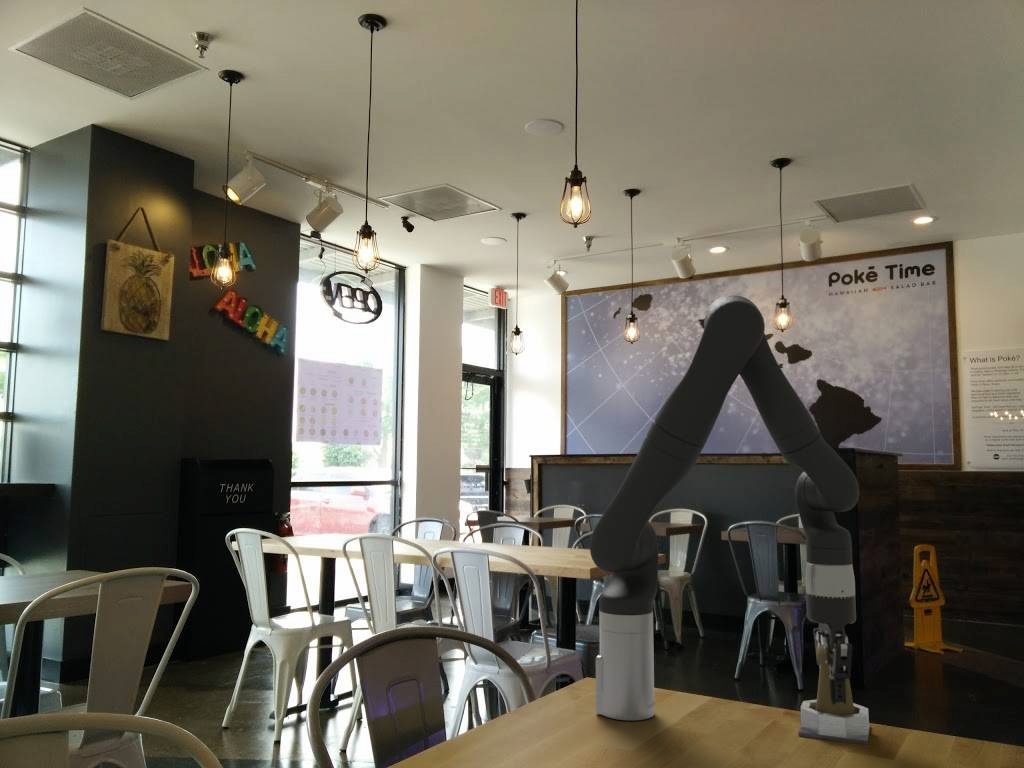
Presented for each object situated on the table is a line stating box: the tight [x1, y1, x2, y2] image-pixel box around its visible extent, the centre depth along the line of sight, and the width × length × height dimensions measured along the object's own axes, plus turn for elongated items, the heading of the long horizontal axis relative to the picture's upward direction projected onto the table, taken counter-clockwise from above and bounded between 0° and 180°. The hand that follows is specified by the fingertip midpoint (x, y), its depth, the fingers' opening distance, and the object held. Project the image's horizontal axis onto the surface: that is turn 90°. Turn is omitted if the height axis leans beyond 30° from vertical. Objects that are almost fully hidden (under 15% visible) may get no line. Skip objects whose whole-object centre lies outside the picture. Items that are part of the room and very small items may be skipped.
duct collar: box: [798, 699, 871, 746], centre depth 136 cm, size 10×10×4 cm
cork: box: [815, 644, 855, 715], centre depth 136 cm, size 6×6×11 cm
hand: (834, 699), depth 136 cm, fingers closed on cork, 4 cm apart
